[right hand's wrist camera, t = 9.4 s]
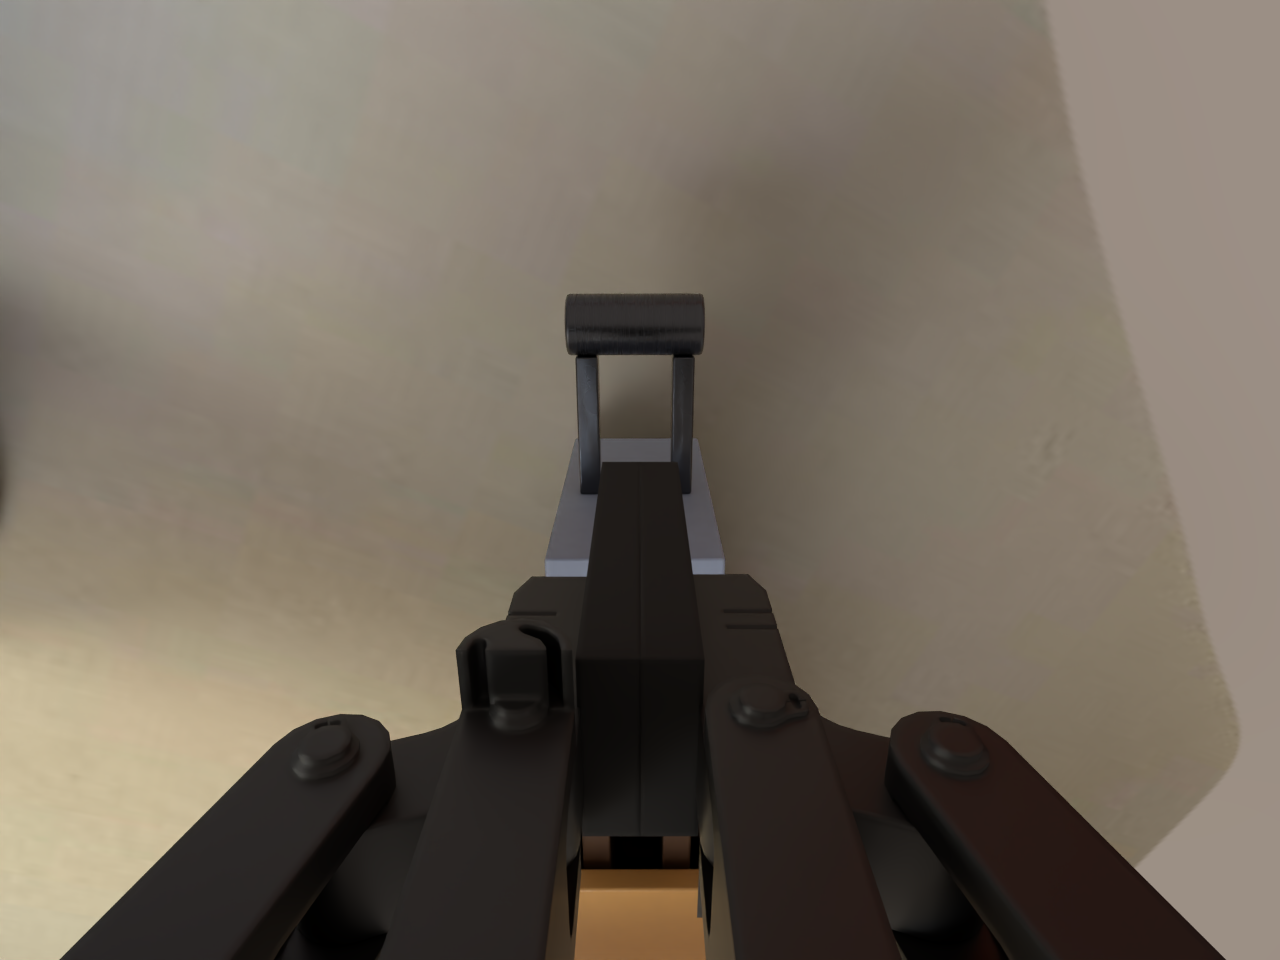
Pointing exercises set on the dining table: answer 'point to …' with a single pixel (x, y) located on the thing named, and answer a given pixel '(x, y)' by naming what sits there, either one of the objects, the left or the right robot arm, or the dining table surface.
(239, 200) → the dining table surface
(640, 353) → the drawer
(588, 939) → the cabinet
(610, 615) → the right robot arm
